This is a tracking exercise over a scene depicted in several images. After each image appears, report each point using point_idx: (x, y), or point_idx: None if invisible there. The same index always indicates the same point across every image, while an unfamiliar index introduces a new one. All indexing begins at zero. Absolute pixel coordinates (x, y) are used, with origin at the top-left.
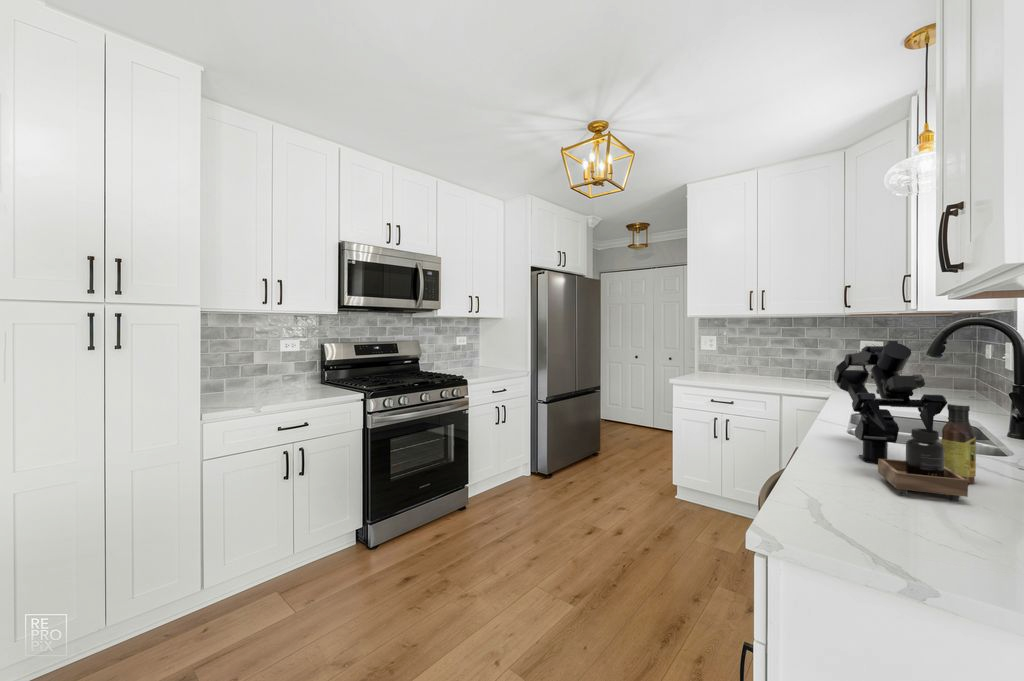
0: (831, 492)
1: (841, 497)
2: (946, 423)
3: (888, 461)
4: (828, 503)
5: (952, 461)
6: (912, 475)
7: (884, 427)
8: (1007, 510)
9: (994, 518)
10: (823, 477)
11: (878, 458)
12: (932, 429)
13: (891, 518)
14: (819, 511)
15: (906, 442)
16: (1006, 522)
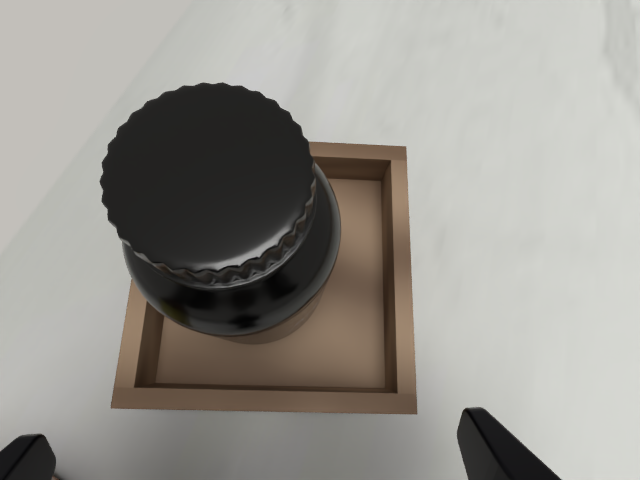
0: (574, 159)
1: (548, 122)
2: None
3: (370, 391)
4: (585, 62)
5: None
6: (348, 145)
7: (491, 421)
8: (86, 168)
9: (175, 88)
10: (595, 333)
11: (416, 413)
12: (9, 446)
13: (447, 10)
14: (607, 3)
15: (334, 257)
16: (161, 68)
